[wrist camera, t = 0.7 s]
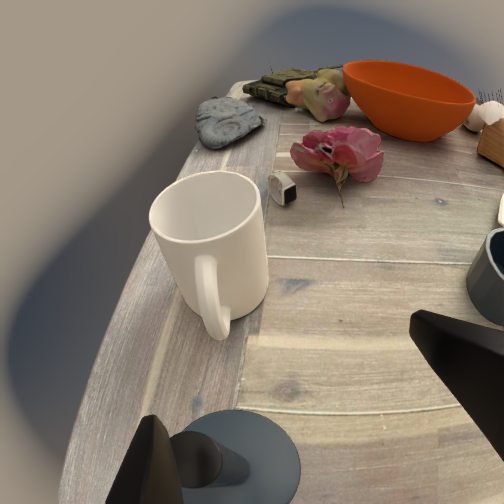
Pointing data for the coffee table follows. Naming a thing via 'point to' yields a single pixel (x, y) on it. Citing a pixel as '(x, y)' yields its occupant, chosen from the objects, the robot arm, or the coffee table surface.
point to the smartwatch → (287, 190)
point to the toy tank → (279, 84)
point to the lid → (236, 460)
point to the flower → (340, 153)
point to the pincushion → (491, 112)
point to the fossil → (225, 121)
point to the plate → (501, 212)
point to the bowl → (408, 99)
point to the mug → (214, 245)
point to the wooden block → (493, 142)
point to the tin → (489, 278)
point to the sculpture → (321, 94)
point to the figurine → (474, 120)
